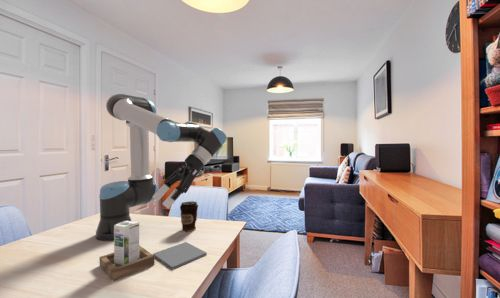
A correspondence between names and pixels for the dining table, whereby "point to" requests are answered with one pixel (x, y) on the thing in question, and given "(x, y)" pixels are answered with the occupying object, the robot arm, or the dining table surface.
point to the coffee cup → (188, 215)
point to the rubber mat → (179, 255)
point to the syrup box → (126, 242)
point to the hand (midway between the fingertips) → (159, 202)
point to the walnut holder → (128, 268)
